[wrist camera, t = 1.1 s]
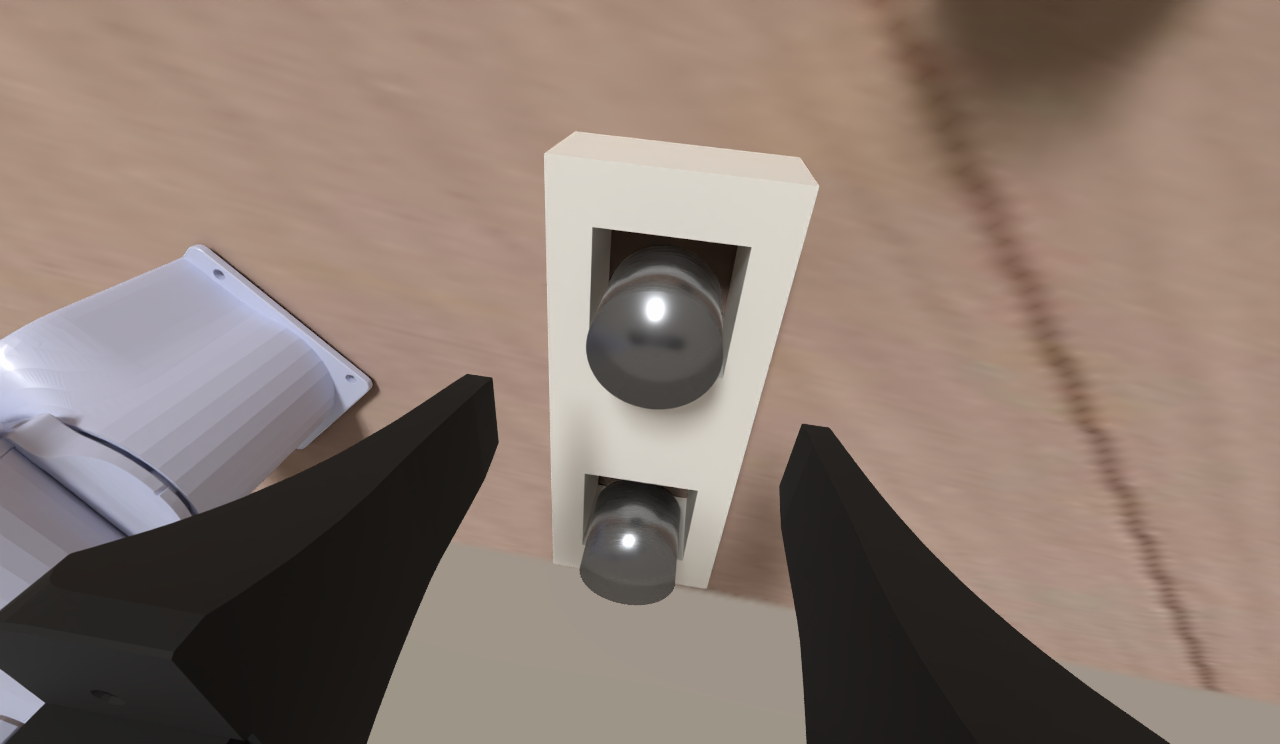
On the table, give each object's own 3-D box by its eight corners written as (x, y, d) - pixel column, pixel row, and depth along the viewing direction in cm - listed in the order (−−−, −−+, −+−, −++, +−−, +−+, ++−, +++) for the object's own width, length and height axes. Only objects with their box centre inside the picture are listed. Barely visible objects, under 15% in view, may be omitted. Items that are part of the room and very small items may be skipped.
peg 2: (579, 500, 24) (560, 566, 21) (643, 467, 22) (632, 533, 19) (633, 546, 25) (622, 614, 22) (697, 518, 24) (694, 588, 21)
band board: (575, 131, 18) (544, 153, 15) (799, 157, 18) (819, 186, 14) (571, 504, 29) (553, 563, 26) (707, 525, 29) (706, 589, 26)
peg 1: (584, 289, 18) (558, 341, 15) (673, 220, 16) (664, 263, 13) (655, 367, 19) (644, 428, 16) (744, 311, 17) (751, 368, 14)
